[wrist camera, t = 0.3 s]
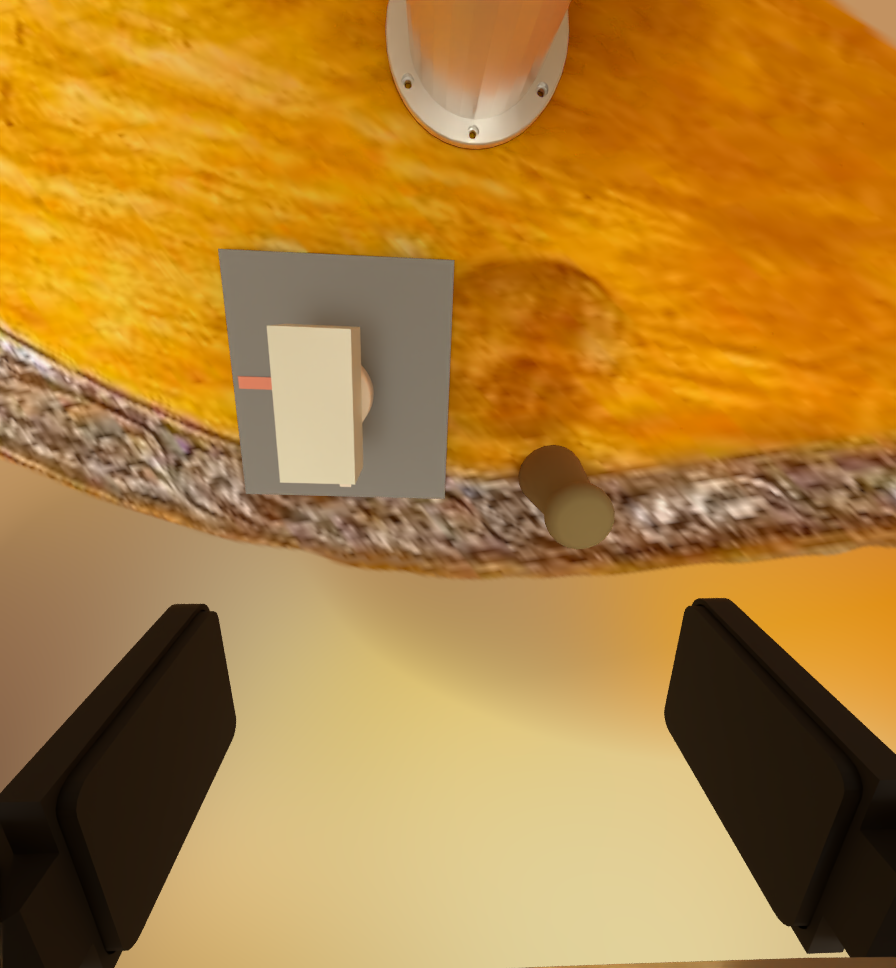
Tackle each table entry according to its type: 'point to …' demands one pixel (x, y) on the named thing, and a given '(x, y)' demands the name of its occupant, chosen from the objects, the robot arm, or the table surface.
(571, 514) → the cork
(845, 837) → the robot arm
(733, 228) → the table surface
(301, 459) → the cream rectangular block
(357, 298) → the base plate
